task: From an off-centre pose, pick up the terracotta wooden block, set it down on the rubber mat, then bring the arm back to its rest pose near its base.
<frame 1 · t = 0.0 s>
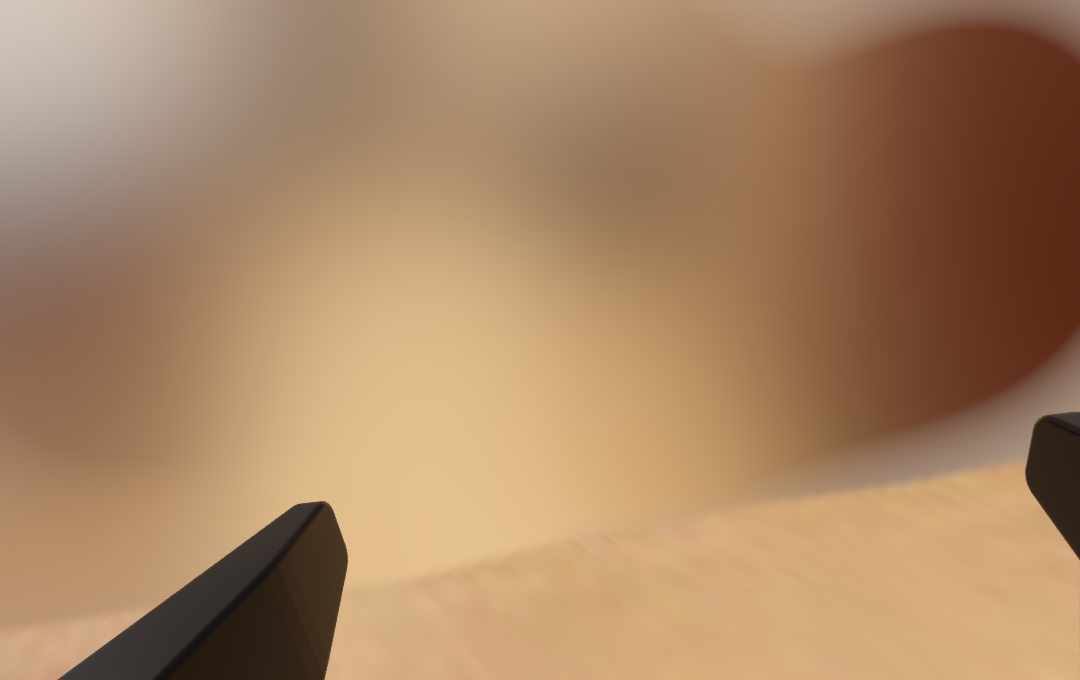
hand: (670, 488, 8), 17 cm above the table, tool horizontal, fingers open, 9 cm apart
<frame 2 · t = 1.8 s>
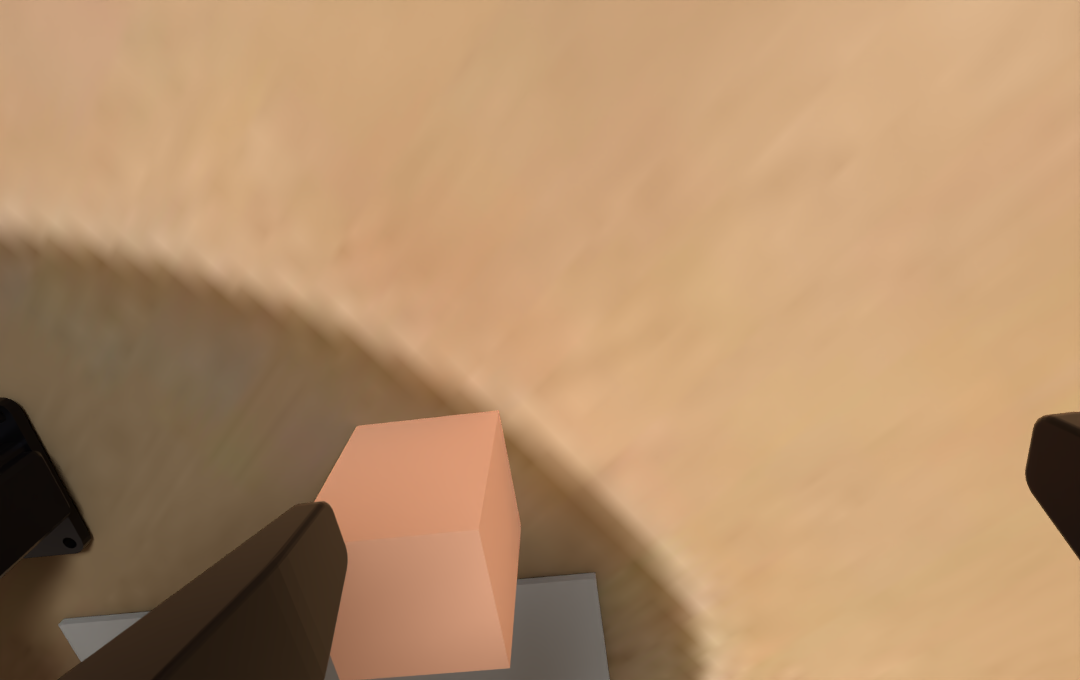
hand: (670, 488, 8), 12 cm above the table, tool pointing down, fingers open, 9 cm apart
block: (442, 477, 22), on the table
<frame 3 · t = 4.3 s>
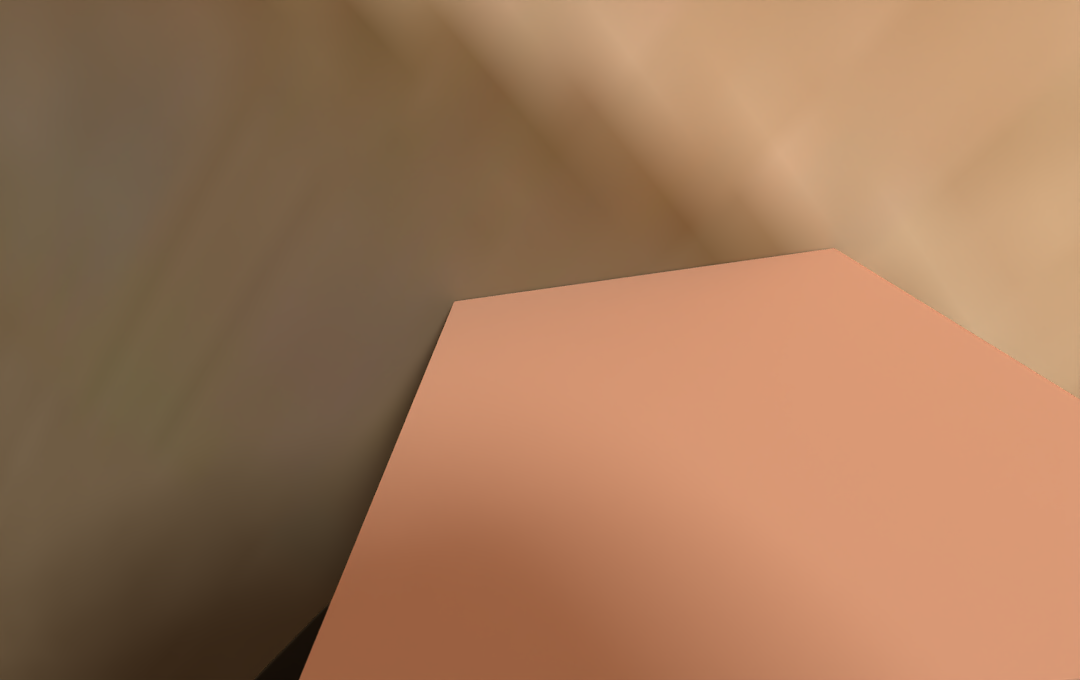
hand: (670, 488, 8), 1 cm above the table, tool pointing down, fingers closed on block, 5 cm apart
block: (654, 436, 9), on the table, touching gripper
when the fingers open (3 cm above the table, at t = 9.2 s): block drops 1 cm, resting on mat.
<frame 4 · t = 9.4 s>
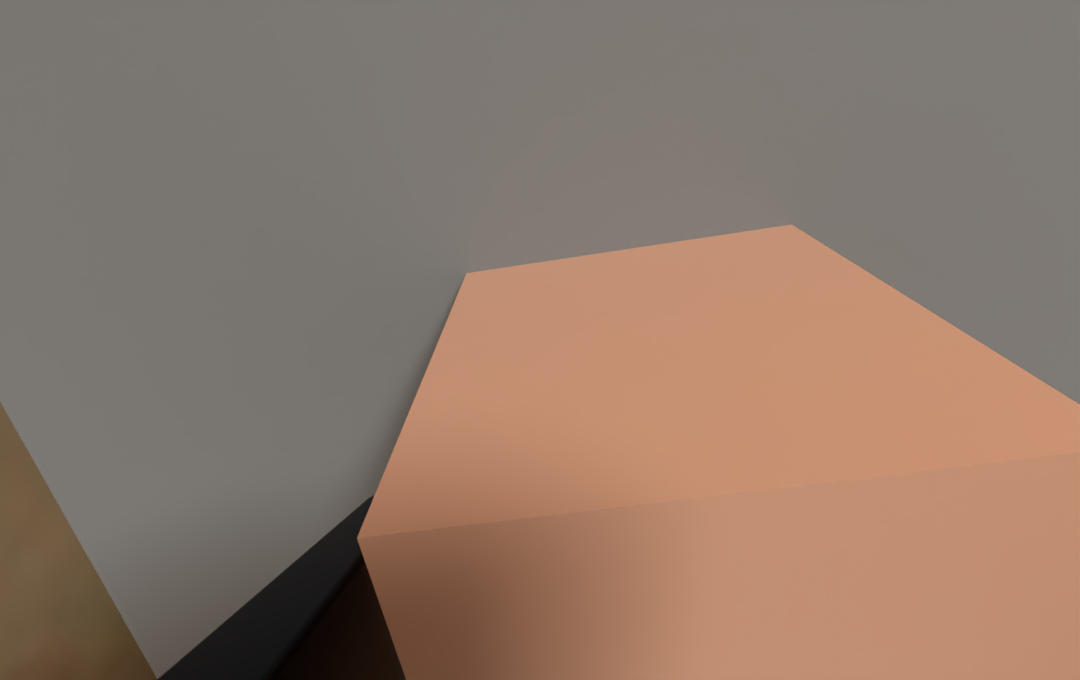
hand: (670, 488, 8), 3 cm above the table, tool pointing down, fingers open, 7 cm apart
block: (641, 391, 10), resting on mat
mat: (640, 383, 11), on the table
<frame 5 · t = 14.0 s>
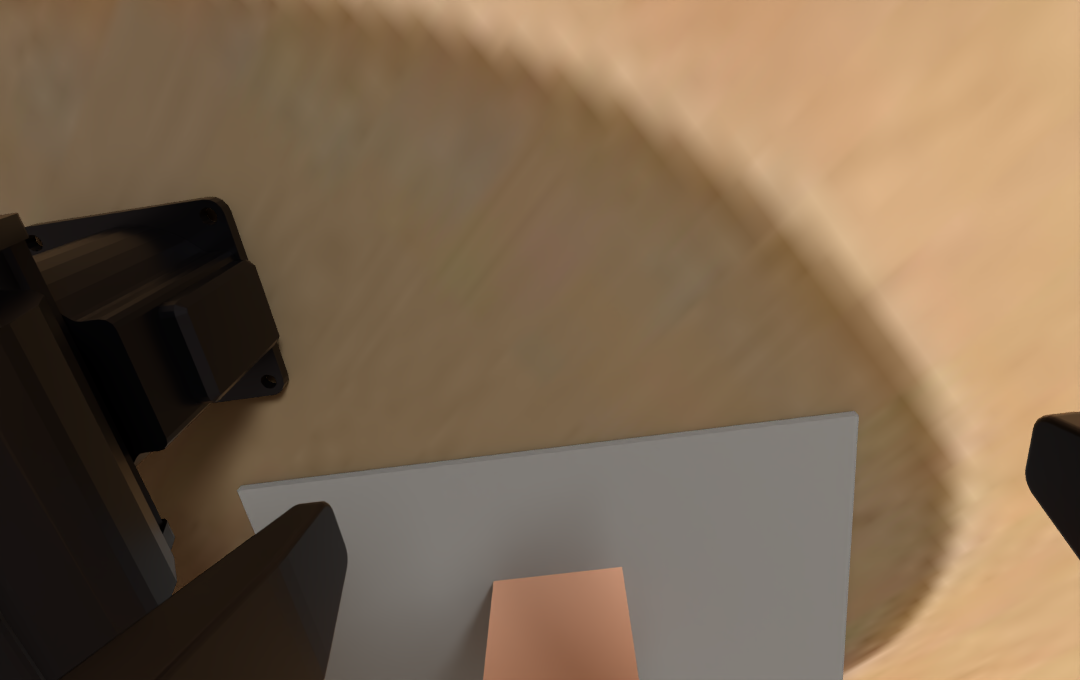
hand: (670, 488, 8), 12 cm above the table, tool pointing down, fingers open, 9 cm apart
block: (566, 621, 25), resting on mat
mat: (566, 615, 25), on the table
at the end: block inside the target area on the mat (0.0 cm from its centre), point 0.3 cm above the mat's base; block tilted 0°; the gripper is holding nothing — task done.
